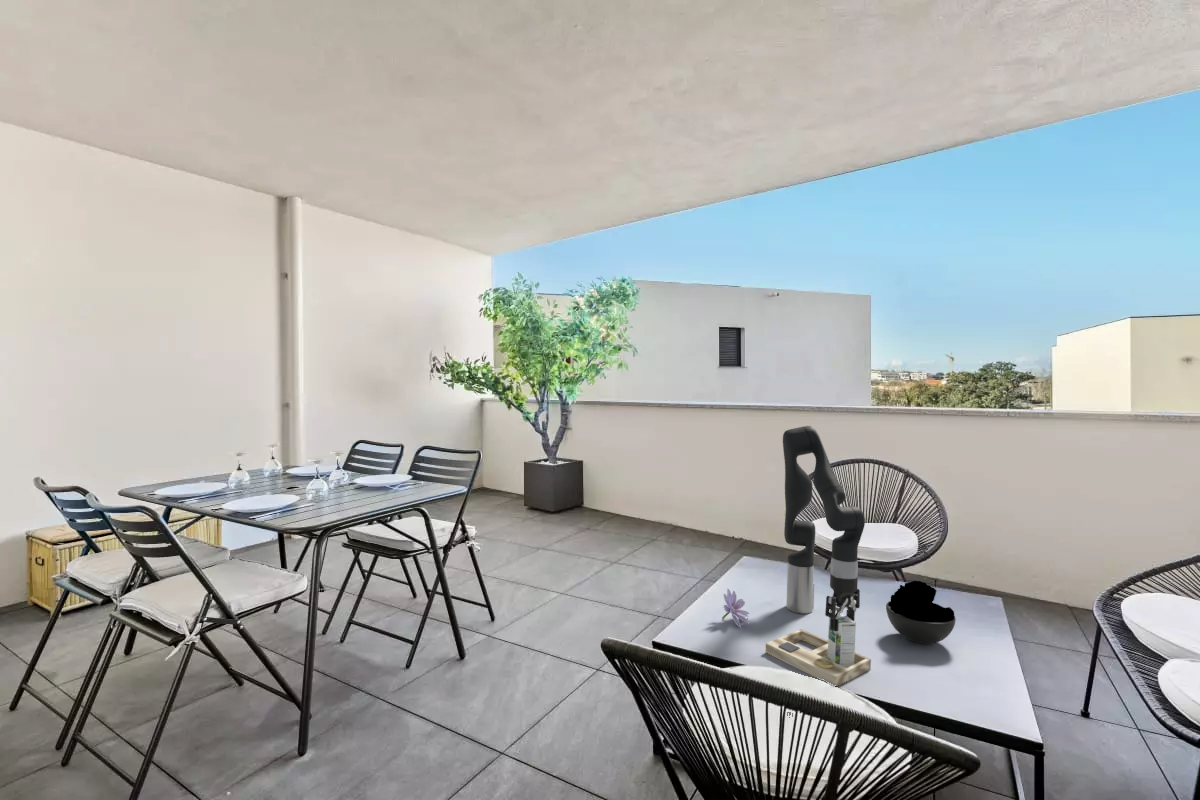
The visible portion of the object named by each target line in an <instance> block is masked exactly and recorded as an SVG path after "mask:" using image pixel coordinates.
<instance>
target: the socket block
mask: <svg viewBox="0 0 1200 800" xmlns="http://www.w3.org/2000/svg"><path fill="white" fill-rule="evenodd" d="M800 641H803V642H806V643H807V644H810V645H812V646H814V647H816V648H815V649H814V648H813V650H808V649H806V648H804V647H801V646H799V645H796V644H795V643H797V642H800ZM765 653H766V654H767V653H768V654H767V655H769V654H770V656H771V655H772V657H773V656H774V657H773V658H775V657H776V659H777V658H778V660H779V661H782V662H784V663H786V664H787V665H790V666H792V667H794V666H795V667H794V668H796V669H798V670H800V671H802V672H804V673H806V674H808V675H809V676H812V677H813V678H816V677H818V678H820V679H824V680H825V681H827V682H829V683H831V684H833V685H836V686H838V687H839V686H841V685H843V684H845V683H847V682H849V681H851V680H853V679H855V678H856V677H858V676H860V675H862V674H864V673H866V672H868V671H869V670H871V668H872V667H871V666H872V665H871V663H872V659H871V658H869V657H867V656H865V655H862V654H860V653H857V652H855V656H854V665H852V666H850V667H848V668H845V667H843V666H841V665H839V664H837V663H834V662H832V661H830V660H828V659H827V655H828V639H825V638H822V637H820V636H818V635H816V634H813V633H811V632H808V631H806V630H803V629H801V628H800V629H798V630H796V631H793V632H790V633H788V634H785V635H783V636H780V637H778V638H775V639H773V640H771V641H768V642H765ZM818 678H817V679H818ZM820 679H819V680H820ZM846 681H847V682H846ZM844 682H845V683H844ZM842 683H843V684H842Z"/></svg>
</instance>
